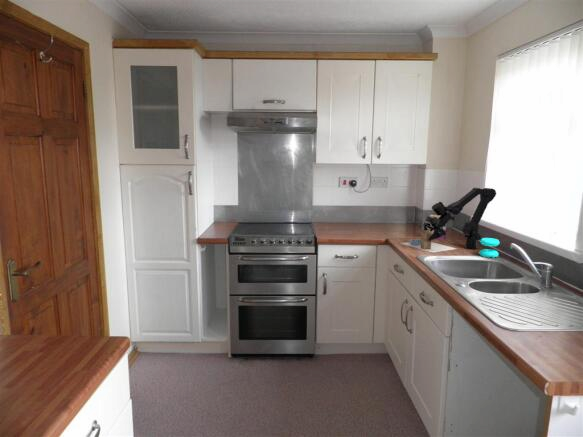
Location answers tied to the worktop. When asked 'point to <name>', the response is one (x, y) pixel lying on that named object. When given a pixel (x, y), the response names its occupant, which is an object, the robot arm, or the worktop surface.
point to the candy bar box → (443, 227)
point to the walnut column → (425, 239)
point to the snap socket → (415, 242)
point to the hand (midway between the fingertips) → (424, 239)
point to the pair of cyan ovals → (488, 251)
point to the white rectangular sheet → (432, 247)
